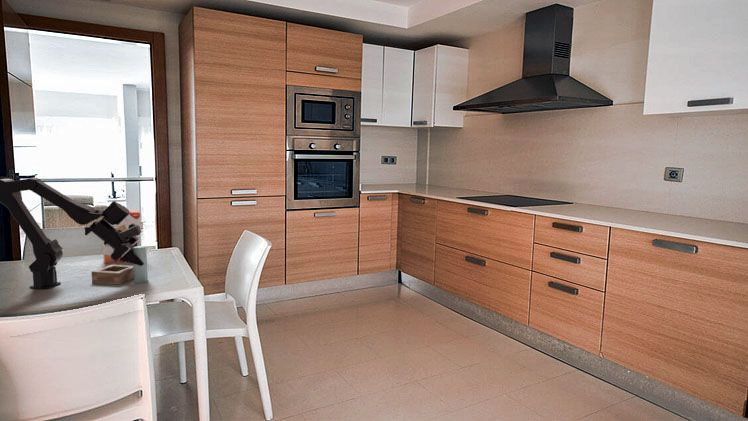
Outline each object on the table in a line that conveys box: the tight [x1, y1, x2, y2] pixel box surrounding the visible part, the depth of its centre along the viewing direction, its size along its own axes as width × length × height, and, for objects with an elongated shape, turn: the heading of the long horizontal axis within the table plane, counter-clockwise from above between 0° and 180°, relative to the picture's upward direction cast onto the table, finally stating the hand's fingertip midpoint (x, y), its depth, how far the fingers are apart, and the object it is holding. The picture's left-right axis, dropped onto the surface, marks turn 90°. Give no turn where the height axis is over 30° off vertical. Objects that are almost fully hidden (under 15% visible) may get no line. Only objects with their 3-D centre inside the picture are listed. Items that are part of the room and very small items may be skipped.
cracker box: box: [101, 210, 142, 264], centre depth 196 cm, size 14×6×21 cm, turn 124°
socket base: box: [91, 264, 134, 285], centre depth 169 cm, size 10×10×4 cm
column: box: [132, 245, 149, 284], centre depth 168 cm, size 4×4×12 cm
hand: (144, 263), depth 168 cm, fingers open, 5 cm apart
